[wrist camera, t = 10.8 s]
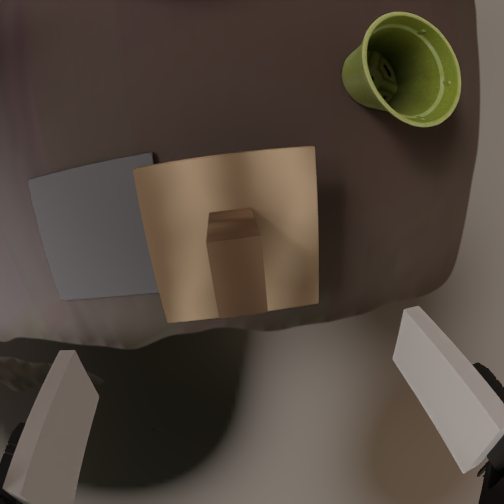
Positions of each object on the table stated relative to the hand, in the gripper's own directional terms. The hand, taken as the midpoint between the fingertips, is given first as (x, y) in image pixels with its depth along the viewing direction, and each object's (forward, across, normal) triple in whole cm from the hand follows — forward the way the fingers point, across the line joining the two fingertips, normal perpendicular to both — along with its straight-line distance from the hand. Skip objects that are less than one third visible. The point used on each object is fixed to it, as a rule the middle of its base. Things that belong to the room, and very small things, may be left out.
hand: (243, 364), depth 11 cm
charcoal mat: (+20, -13, 0) cm, 24 cm away
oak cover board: (+14, 0, 0) cm, 14 cm away
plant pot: (+20, +15, +13) cm, 28 cm away
